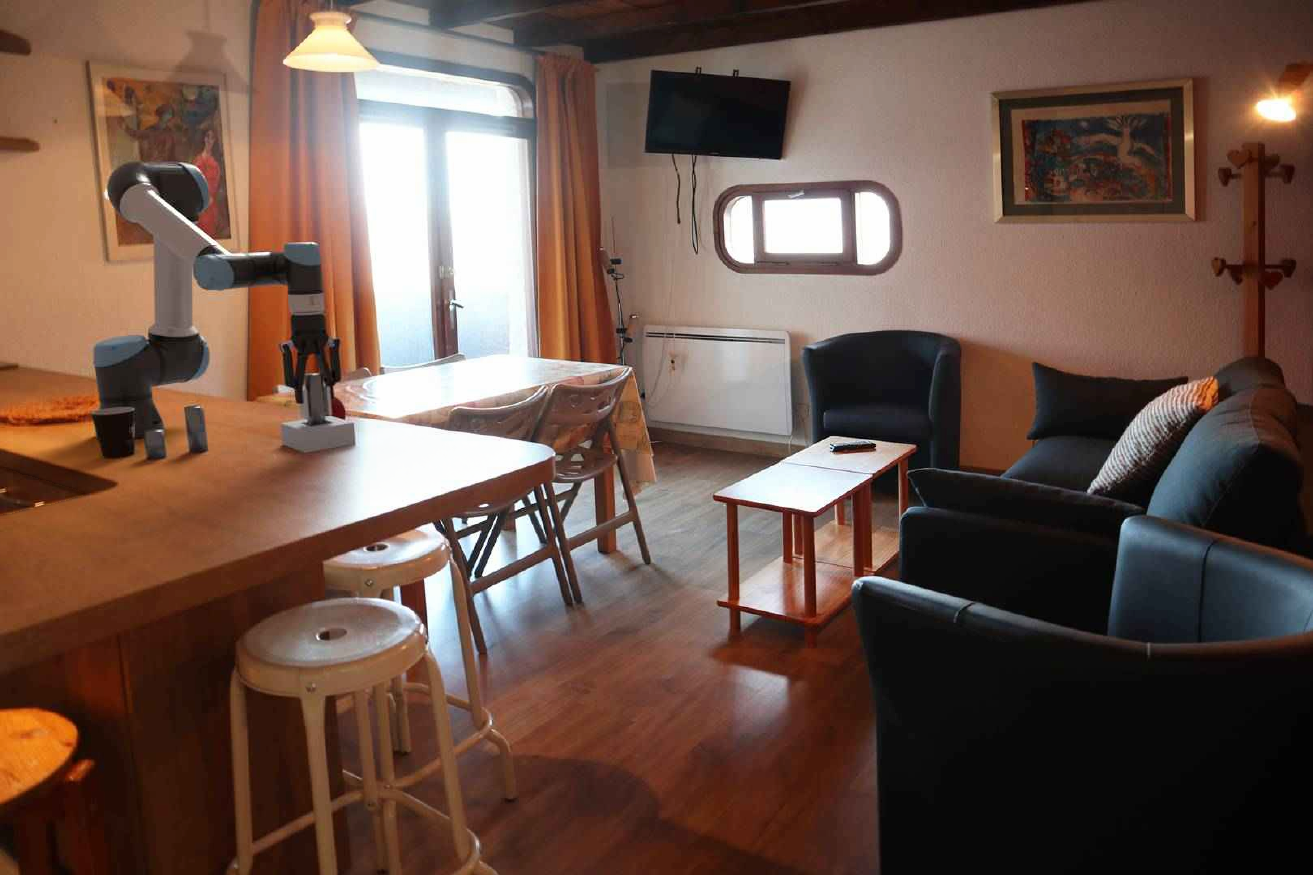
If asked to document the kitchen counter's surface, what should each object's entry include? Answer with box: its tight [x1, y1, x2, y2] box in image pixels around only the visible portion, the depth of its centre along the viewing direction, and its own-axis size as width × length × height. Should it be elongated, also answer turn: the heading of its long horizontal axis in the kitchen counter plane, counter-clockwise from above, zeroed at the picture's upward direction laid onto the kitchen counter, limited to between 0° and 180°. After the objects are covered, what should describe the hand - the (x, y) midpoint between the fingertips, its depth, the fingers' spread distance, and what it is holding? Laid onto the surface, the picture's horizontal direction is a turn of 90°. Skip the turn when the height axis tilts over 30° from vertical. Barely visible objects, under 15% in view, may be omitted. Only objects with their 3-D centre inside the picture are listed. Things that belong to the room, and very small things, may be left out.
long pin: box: [304, 372, 326, 426], centre depth 244 cm, size 4×4×16 cm
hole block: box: [280, 416, 357, 454], centre depth 245 cm, size 12×12×5 cm
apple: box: [305, 395, 347, 420], centre depth 259 cm, size 9×9×10 cm
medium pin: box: [183, 404, 209, 454], centre depth 240 cm, size 4×4×10 cm
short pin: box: [143, 429, 168, 461], centre depth 235 cm, size 4×4×6 cm
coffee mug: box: [90, 407, 136, 459], centre depth 239 cm, size 12×9×10 cm
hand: (316, 415), depth 244 cm, fingers open, 5 cm apart
